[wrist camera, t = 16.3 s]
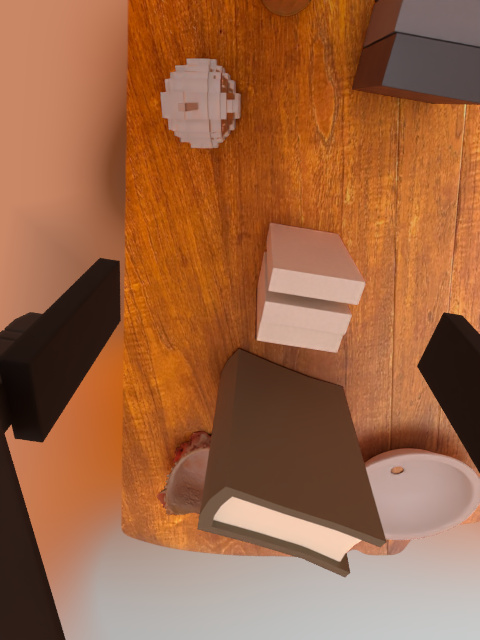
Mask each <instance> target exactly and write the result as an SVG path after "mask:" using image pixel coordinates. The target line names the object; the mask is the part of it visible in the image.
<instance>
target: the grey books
mask: <svg viewBox="0 0 480 640" xmlns="http://www.w3.org/2000/svg"><path fill="white" fill-rule="evenodd" d="M375 2H377V3H375V4H374V7H373V10H372V14H371V18H370V22H369V26H368V30H367V34H366V37H365V41H364V45H363V47H364V48H365V49H363V50H362V53H361V56H360V60H359V64H358V68H357V72H356V76H355V80H354V83H353V87H352V89H353V90H359V91H365V92H370V93H376V94H382V95H387V96H393V97H398V98H404V99H410V100H415V101H421V102H426V103H432V104H477V105H480V0H375Z"/></svg>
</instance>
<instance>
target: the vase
mask: <svg viewBox="0 0 480 640" xmlns="http://www.w3.org/2000/svg"><path fill="white" fill-rule="evenodd" d="M261 1H262V2H263V4H264V5H265V6H266V7H267V9H268V10H270V11H271V12H272V13H274V14H277V15H281V16H291V15H294V14H296V13H298V12H300V11H302V10H303V9H304V8H305V7H306V6H307V5H308V4H309V3H310V1H311V0H261Z"/></svg>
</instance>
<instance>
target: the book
mask: <svg viewBox="0 0 480 640" xmlns="http://www.w3.org/2000/svg"><path fill="white" fill-rule="evenodd" d="M198 530H202V531H206V532H210V533H213V534H217V535H221V536H225V537H229V538H233V539H236V540H240V541H244V542H248V543H251V544H255V545H258V546H262V547H265V548H268V549H272V550H275V551H279V552H282V553H285V554H289V555H292V556H296V557H299V558H303V559H305V560H307V561H309V562H312V563H314V564H316V565H318V566H321V567H323V568H325V569H327V570H330V571H332V572H334V573H336V574H339V575H341V576H343V577H346V576H347V575H348V574H349V573H350V569H349V564H348V558H347V553H346V552H347V551H348V550H350V549H351V548H352V547H353V546H354V545H355V544H357V543H358V542H360V541H365V542H368V543H370V544H373V545H376V546H378V547H381V546H382V545H383V544H385V543H386V538H385V535H384V531H383V528H382V524H381V521H380V517H379V513H378V510H377V506H376V503H375V499H374V496H373V492H372V489H371V485H370V482H369V478H368V474H367V471H366V467H365V464H364V460H363V457H362V453H361V450H360V446H359V443H358V439H357V435H356V432H355V428H354V425H353V421H352V418H351V414H350V411H349V407H348V403H347V400H346V396H345V393H344V389H343V386H339V385H335V384H331V383H328V382H324V381H320V380H316V379H313V378H310V377H307V376H304V375H302V374H299V373H297V372H294V371H291V370H289V369H286V368H284V367H281V366H278V365H276V364H273V363H271V362H269V361H266V360H264V359H262V358H259V357H257V356H255V355H252V354H250V353H248V352H245V351H243V350H241V349H238V350H237V351H236V352H235V353H234V354H233V355H232V356H231V357H230V358H229V359H228V361H227V363H226V364H225V366H224V368H223V370H222V372H221V377H220V383H219V389H218V396H217V403H216V409H215V416H214V423H213V429H212V436H211V443H210V449H209V456H208V463H207V469H206V476H205V483H204V489H203V496H202V502H201V509H200V516H199V522H198Z"/></svg>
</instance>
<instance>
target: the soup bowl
mask: <svg viewBox="0 0 480 640" xmlns="http://www.w3.org/2000/svg"><path fill="white" fill-rule="evenodd" d="M364 464H365V467H366V471H367V474H368V478H369V482H370V485H371V489H372V492H373V496H374V499H375V503H376V506H377V510H378V513H379V517H380V521H381V524H382V528H383V531H384V535H385V538H386V539H389V540H412V539H419V538H425V537H429V536H433V535H436V534H439V533H442V532H444V531H447V530H449V529H451V528H453V527H455V526H457V525H459V524H460V523H462V522H463V521H464V520H466V519H467V518H468V517H469V516H470V515H471V514H472V513H473V512H474V511H475V510H476V508H477V507H478V505H479V503H480V478H479V477H478V475H477V474H476V472H475V471H474V470H473V469H472V468H471V467H470V466H468V465H467V464H465V463H464V462H462V461H460V460H458V459H455V458H453V457H450V456H446V455H442V454H437V453H434V452H431V451H427V450H422V449H413V448H404V449H395V450H390V451H387V452H383V453H381V454H378V455H376V456H374V457H373V458H371V459H369V460H368V461H366V462H365V463H364ZM398 466H399V467H403V468H404V470H403V472H402V473H399V474H393V473H391V469H392V468H394V467H398Z"/></svg>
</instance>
